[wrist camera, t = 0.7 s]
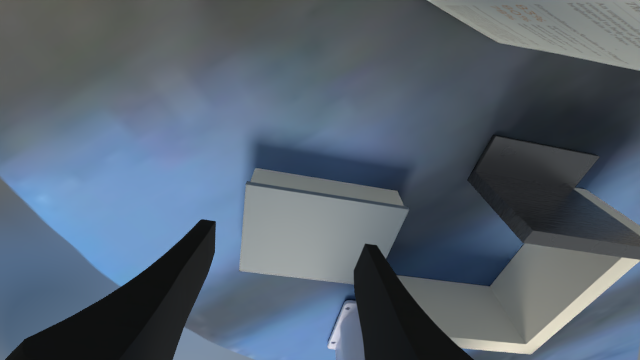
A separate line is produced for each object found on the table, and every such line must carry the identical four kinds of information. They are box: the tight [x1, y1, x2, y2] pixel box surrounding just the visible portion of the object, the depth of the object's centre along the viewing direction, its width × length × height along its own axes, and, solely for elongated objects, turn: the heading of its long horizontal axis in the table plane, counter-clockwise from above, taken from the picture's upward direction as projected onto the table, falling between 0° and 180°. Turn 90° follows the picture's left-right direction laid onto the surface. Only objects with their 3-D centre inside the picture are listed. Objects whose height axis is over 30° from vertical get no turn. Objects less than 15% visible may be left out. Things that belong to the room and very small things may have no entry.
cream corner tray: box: [397, 188, 640, 354], centre depth 24 cm, size 14×15×6 cm
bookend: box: [468, 135, 640, 260], centre depth 19 cm, size 4×9×7 cm, turn 78°
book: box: [239, 168, 409, 284], centre depth 24 cm, size 9×12×3 cm
